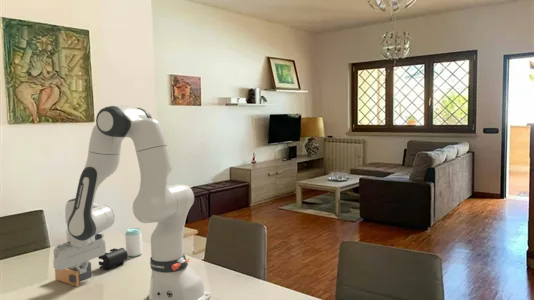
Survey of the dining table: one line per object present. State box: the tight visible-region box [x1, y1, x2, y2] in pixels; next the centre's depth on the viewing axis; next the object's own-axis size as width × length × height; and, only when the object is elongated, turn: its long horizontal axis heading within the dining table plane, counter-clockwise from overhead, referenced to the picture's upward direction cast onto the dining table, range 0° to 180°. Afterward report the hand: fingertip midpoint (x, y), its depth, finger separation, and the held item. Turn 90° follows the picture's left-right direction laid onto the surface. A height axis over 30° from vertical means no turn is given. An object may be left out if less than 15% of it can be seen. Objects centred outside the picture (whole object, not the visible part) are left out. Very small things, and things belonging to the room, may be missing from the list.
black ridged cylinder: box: [97, 247, 129, 271], centre depth 170 cm, size 10×7×7 cm
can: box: [124, 227, 143, 258], centre depth 184 cm, size 7×7×12 cm
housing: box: [67, 261, 93, 283], centre depth 158 cm, size 10×8×7 cm
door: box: [54, 268, 80, 287], centre depth 153 cm, size 14×2×6 cm, turn 59°
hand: (81, 273), depth 154 cm, fingers closed
